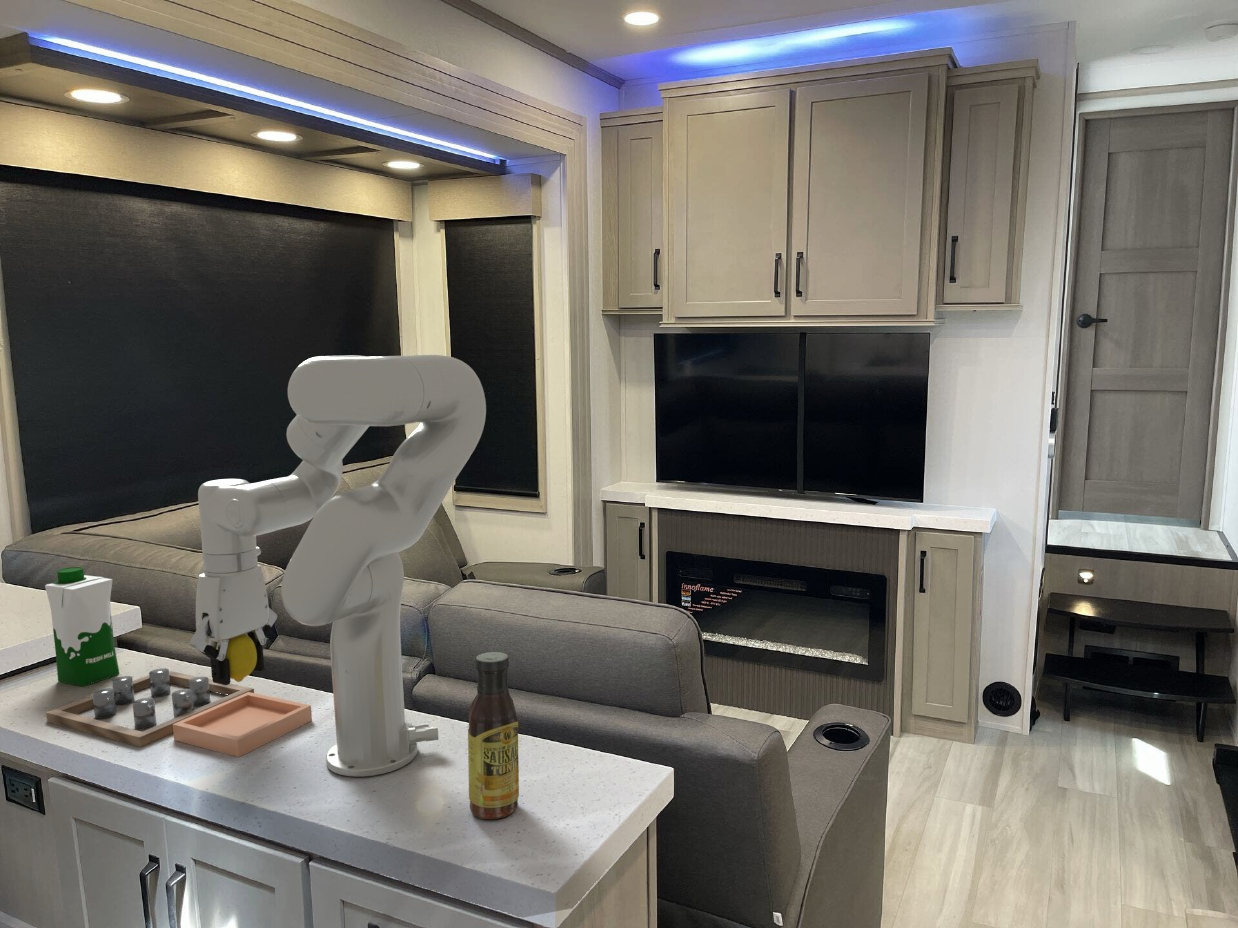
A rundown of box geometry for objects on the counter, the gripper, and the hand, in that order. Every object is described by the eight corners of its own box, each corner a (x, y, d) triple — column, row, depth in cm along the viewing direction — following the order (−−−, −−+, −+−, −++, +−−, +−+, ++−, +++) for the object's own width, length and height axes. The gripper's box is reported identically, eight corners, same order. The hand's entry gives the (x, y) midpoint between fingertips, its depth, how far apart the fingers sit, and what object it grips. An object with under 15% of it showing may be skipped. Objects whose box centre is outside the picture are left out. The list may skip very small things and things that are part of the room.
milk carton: (95, 666, 170) (85, 563, 167) (128, 673, 166) (117, 567, 163) (49, 682, 162) (37, 574, 159) (82, 689, 158) (70, 578, 155)
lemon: (265, 675, 141) (261, 626, 140) (247, 688, 135) (243, 637, 134) (231, 674, 141) (227, 625, 140) (212, 688, 136) (208, 637, 135)
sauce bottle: (487, 828, 109) (480, 670, 106) (460, 809, 113) (452, 657, 111) (531, 809, 113) (525, 656, 110) (503, 791, 118) (497, 644, 115)
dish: (312, 720, 142) (310, 705, 142) (238, 756, 130) (237, 740, 129) (249, 706, 148) (248, 691, 148) (174, 739, 136) (172, 724, 136)
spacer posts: (224, 703, 150) (222, 680, 150) (153, 733, 139) (151, 708, 138) (153, 687, 158) (151, 665, 158) (81, 714, 147) (78, 691, 146)
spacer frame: (254, 696, 152) (253, 688, 152) (140, 746, 134) (139, 737, 134) (164, 677, 163) (163, 669, 163) (47, 721, 144) (46, 712, 144)
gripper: (258, 547, 145) (266, 655, 147) (162, 571, 130) (172, 691, 132) (292, 551, 142) (299, 662, 144) (198, 577, 126) (207, 700, 129)
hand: (238, 675), depth 138 cm, fingers closed on lemon, 5 cm apart
